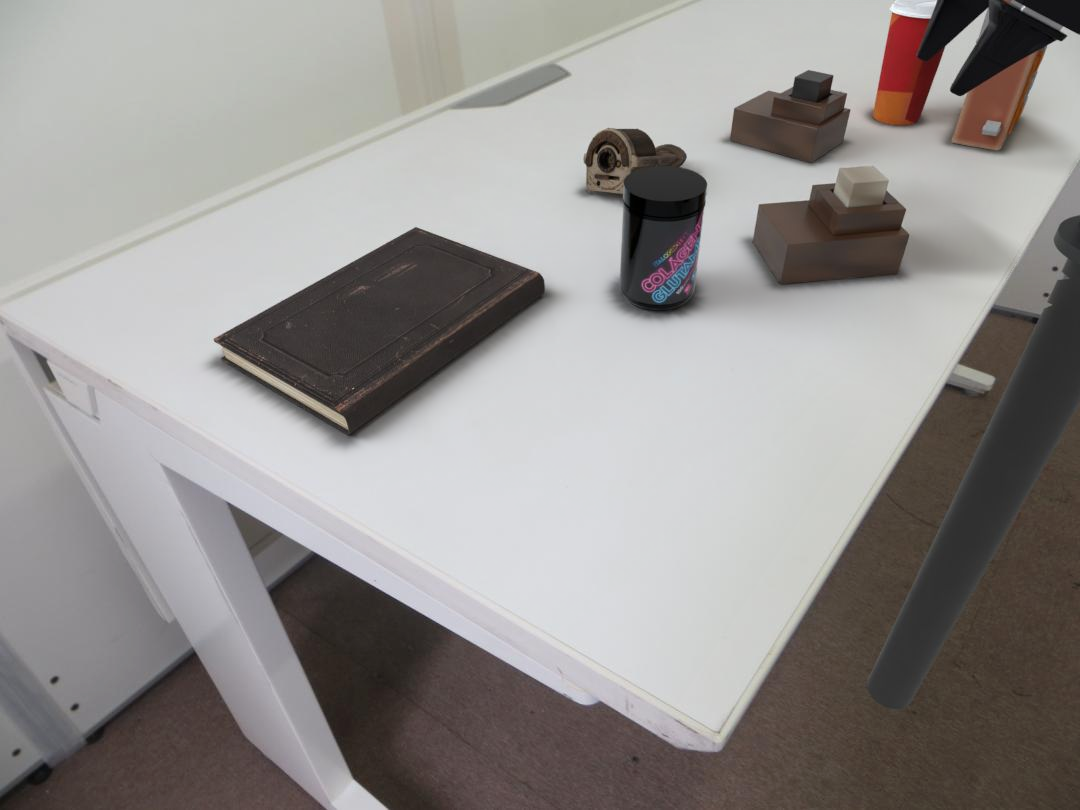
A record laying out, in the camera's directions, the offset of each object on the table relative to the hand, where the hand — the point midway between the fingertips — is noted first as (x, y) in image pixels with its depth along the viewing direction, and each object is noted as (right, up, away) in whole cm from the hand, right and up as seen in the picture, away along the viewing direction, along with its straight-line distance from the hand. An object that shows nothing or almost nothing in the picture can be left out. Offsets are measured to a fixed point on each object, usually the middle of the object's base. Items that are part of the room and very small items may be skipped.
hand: (936, 75), depth 66 cm
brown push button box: (-8, -15, +6) cm, 18 cm away
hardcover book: (-47, -22, 0) cm, 52 cm away
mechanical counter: (-23, -4, +20) cm, 31 cm away
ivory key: (-6, -10, +2) cm, 12 cm away
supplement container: (-24, -19, +2) cm, 31 cm away
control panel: (+21, +5, +28) cm, 35 cm away
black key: (-3, +7, +23) cm, 24 cm away
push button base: (-4, +4, +27) cm, 28 cm away
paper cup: (+11, +8, +32) cm, 35 cm away
